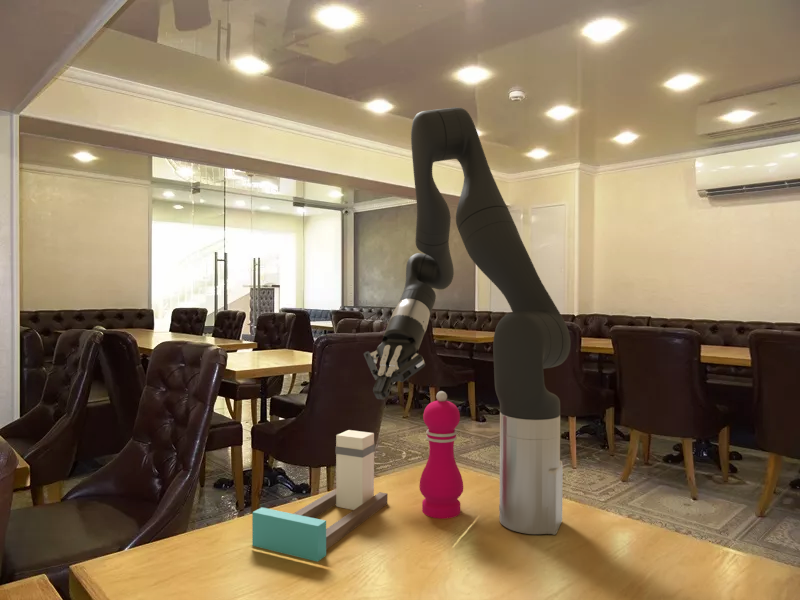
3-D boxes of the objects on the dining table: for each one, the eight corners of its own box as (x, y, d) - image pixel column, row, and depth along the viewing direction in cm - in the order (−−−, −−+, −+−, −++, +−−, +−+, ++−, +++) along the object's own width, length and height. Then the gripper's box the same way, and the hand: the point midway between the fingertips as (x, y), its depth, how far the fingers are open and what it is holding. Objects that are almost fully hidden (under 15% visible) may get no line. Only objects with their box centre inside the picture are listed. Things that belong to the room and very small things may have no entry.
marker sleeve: (374, 503, 95) (374, 432, 95) (362, 511, 91) (362, 438, 91) (348, 498, 97) (348, 429, 97) (335, 506, 93) (335, 435, 93)
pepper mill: (463, 505, 95) (463, 388, 95) (463, 522, 88) (464, 395, 88) (420, 503, 96) (421, 387, 96) (417, 520, 89) (418, 394, 88)
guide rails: (387, 505, 95) (387, 493, 95) (314, 560, 75) (314, 545, 75) (341, 496, 99) (341, 485, 99) (259, 547, 79) (259, 533, 79)
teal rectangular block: (326, 557, 76) (326, 520, 76) (317, 563, 74) (317, 526, 74) (261, 541, 81) (261, 507, 81) (252, 547, 79) (252, 512, 79)
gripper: (372, 312, 113) (340, 381, 102) (432, 314, 108) (406, 387, 97) (383, 337, 118) (354, 405, 107) (442, 339, 113) (417, 411, 102)
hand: (379, 396), depth 102 cm, fingers closed
